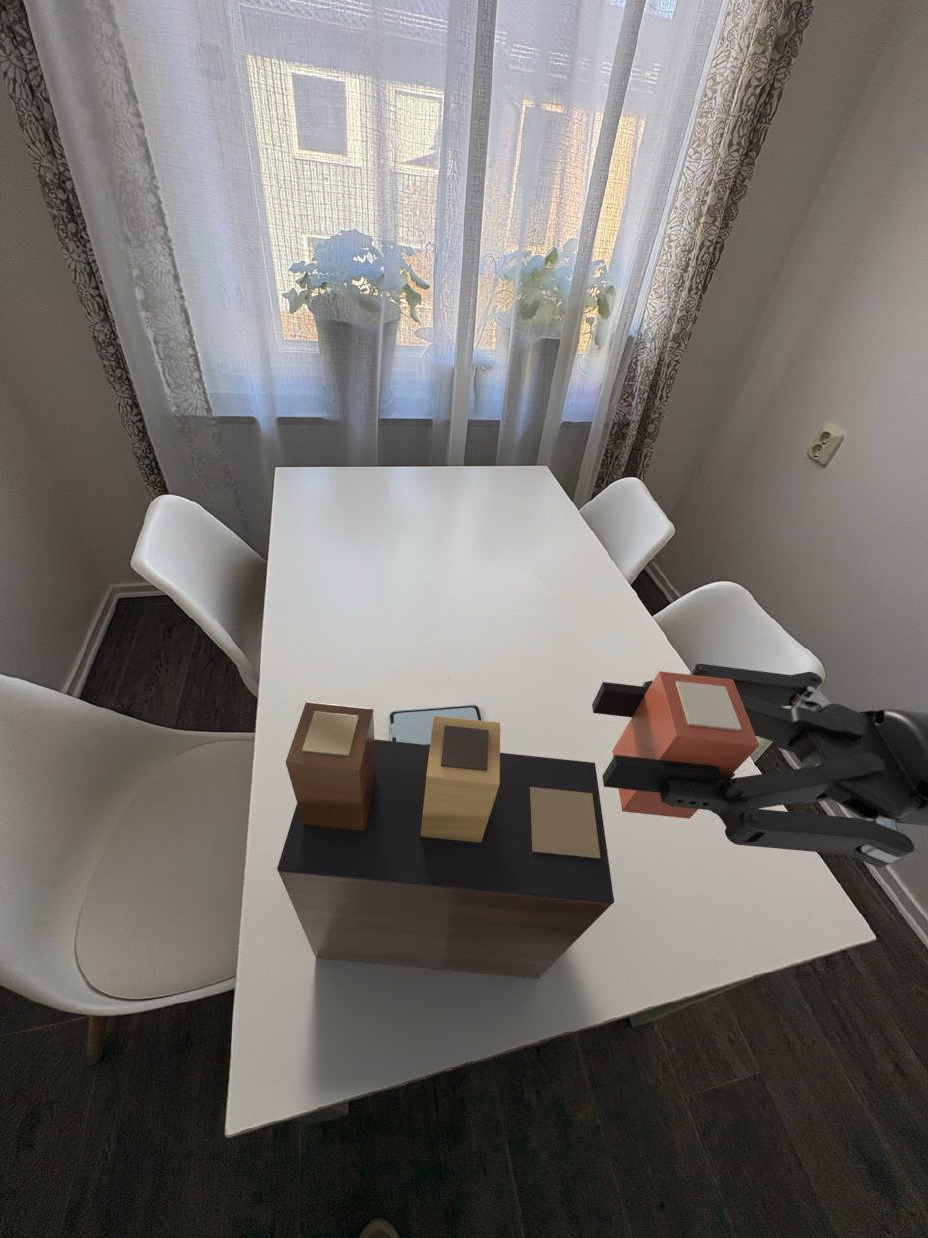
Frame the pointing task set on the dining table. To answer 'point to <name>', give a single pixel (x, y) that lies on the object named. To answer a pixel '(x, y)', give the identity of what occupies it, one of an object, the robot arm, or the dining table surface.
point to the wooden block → (333, 765)
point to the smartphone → (425, 721)
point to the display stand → (436, 925)
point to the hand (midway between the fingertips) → (603, 732)
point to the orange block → (686, 733)
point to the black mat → (503, 862)
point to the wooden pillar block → (461, 778)
